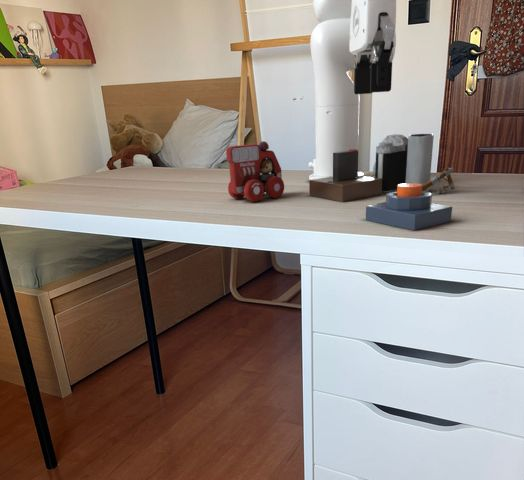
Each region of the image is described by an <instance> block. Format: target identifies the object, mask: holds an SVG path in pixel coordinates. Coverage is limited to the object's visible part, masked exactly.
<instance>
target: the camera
mask: <svg viewBox="0 0 524 480" xmlns="http://www.w3.org/2000/svg"><path fill="white" fill-rule="evenodd" d="M407 152H408V137H407V136H405V135H404V134H399V133H398V134H397V133H395V134H394V133H393V134H387V135H386V137H384V138H383V140H382V141H381V142H379V143H378V146H375V162H374V164H373V168H372V173H373V174H372V175H373V177H375V178H382V193H390V192H394V191H397V185H399V184H403V183H406V168H407Z"/></svg>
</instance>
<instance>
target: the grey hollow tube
mask: <svg viewBox="0 0 524 480" xmlns="http://www.w3.org/2000/svg"><path fill="white" fill-rule="evenodd" d="M434 137H435V136H434V134H433V133H413V134H409V135H408V137H407V138H408V152H407V168H406V183H418V184H422V185H423V184H425V183H427V182H429V180H431V173H432V172H431V171H432V160H433V148H434ZM429 191H430V187H429V188H428V189H426V190H425V192H429Z"/></svg>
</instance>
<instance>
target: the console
mask: <svg viewBox="0 0 524 480" xmlns="http://www.w3.org/2000/svg"><path fill="white" fill-rule="evenodd" d="M308 181H309V182H308V184H309V186H308V187H309V189H308V190H309V192H308V193H309V196H310V197H316V198H321V199H326V200H331V201H336V202H340V203H341V202H342V203H344V202H349V201H354V200H359V199H365V198H370V197H375V196H380V195H382V194H383V192H382V178H375V176H365V175H364V176H363V175H362V176H359V175H358V178H353V179H347V180H341V181H335V180H333V176H329V177H326V178H320V179H313V180H309V179H308Z"/></svg>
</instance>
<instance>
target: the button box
mask: <svg viewBox="0 0 524 480" xmlns="http://www.w3.org/2000/svg"><path fill="white" fill-rule="evenodd" d="M432 198H433V193H431V192H429V191H428V192H425V191H422V193H421V196H414V197H402V196H397V190H394V191H389V192H387V193H386V195H385V201H383V202H378V203H373V204H369V205H366V206H365V221H369V222H373V223H378V224H382V225H387V226H392V227H396V228H400V229H405V230H411V231H418V230H421V229H426V228H430V227H433V226H437V225H443V224H446V223H450V222H452V215H453V213H452V212H453V206H450V205H445V204H438V203H433V202H432V200H433V199H432Z"/></svg>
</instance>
